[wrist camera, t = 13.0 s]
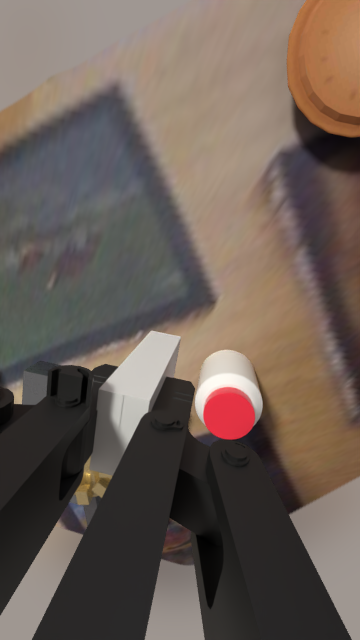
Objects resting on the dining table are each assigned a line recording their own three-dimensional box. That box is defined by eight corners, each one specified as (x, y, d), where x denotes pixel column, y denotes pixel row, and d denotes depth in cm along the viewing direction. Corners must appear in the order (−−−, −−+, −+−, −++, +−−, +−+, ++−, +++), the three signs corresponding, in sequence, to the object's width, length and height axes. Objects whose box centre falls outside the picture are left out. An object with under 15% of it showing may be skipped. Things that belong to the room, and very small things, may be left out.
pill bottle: (240, 409, 43) (245, 460, 33) (191, 386, 44) (181, 430, 33) (265, 364, 42) (279, 402, 31) (213, 340, 42) (210, 370, 31)
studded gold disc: (51, 420, 43) (33, 438, 39) (118, 419, 42) (107, 437, 38) (73, 520, 47) (58, 546, 43) (135, 522, 45) (126, 548, 41)
